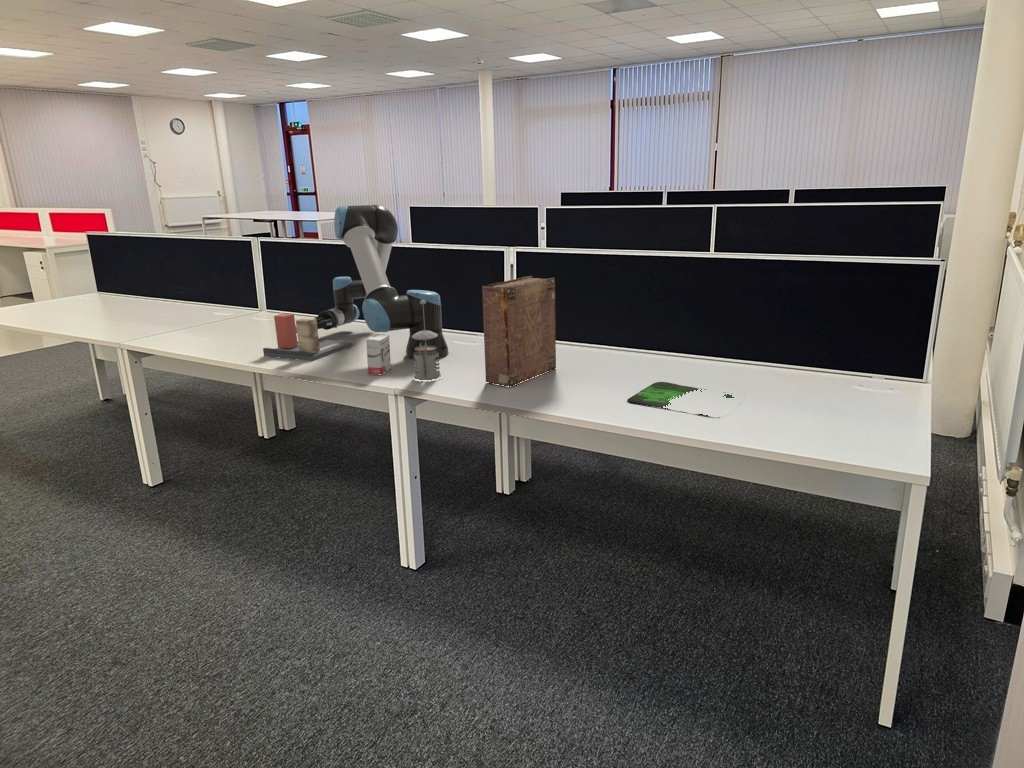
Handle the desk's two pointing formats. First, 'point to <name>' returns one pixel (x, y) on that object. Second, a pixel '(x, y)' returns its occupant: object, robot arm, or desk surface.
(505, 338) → the book
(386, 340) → the ink box
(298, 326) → the birch slider
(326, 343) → the track board
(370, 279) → the robot arm
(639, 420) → the desk surface
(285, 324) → the red slider
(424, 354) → the french press
